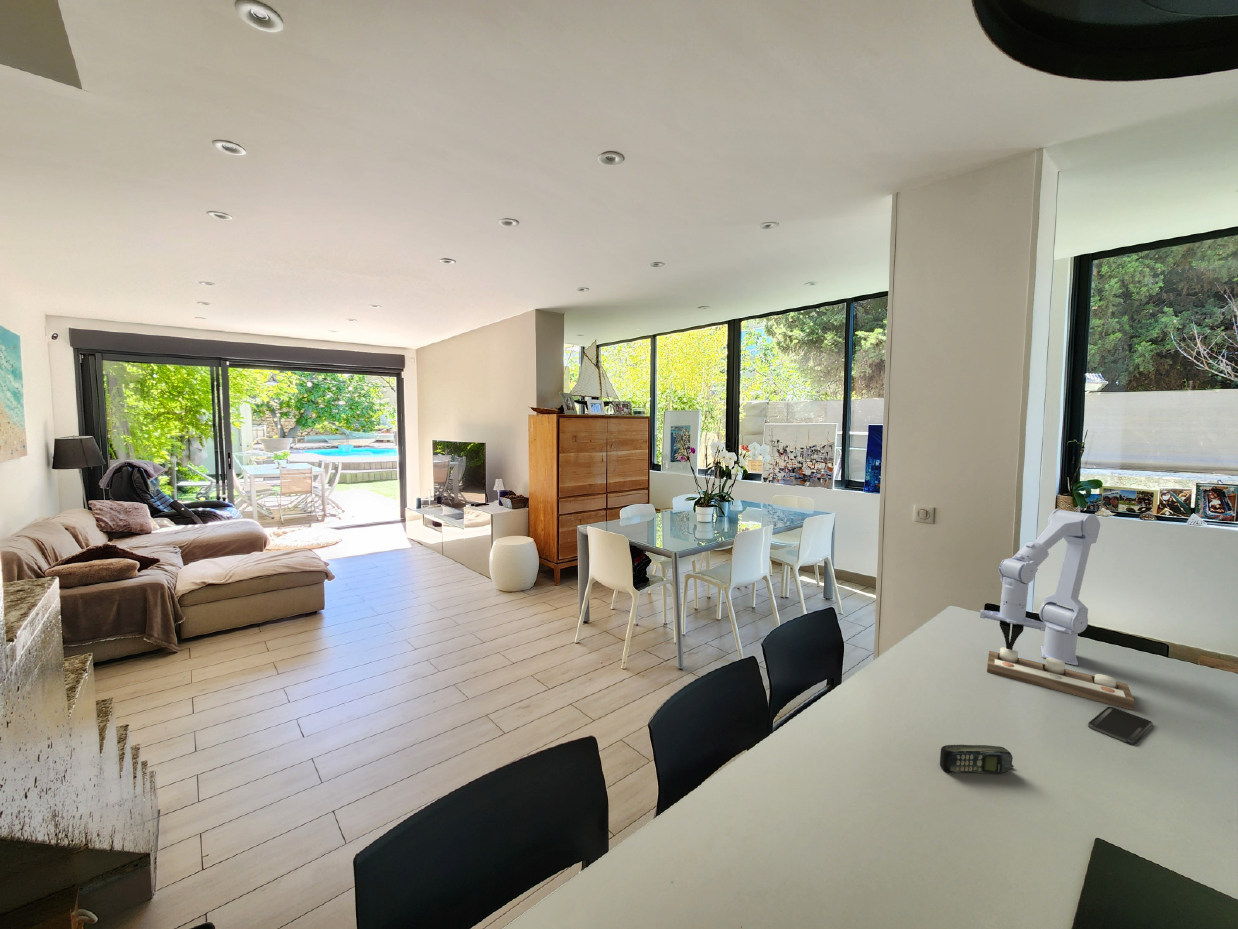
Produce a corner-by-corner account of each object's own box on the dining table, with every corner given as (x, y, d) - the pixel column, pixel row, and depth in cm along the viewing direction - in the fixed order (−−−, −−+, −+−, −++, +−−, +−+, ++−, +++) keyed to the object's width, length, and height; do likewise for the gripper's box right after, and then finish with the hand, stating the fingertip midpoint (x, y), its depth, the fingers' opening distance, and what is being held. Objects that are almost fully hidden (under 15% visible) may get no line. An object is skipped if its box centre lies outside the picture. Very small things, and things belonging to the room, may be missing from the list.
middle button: (1044, 665, 140) (1045, 656, 140) (1063, 669, 138) (1064, 660, 138) (1045, 670, 137) (1046, 661, 137) (1064, 675, 135) (1065, 666, 134)
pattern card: (994, 659, 143) (994, 658, 143) (1123, 691, 127) (1123, 690, 127) (994, 664, 140) (994, 663, 140) (1125, 697, 124) (1125, 696, 124)
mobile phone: (947, 752, 100) (1022, 751, 100) (937, 742, 103) (1010, 741, 103) (945, 776, 100) (1020, 775, 100) (936, 765, 103) (1009, 764, 103)
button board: (988, 658, 149) (989, 650, 149) (1126, 693, 131) (1127, 684, 131) (986, 672, 141) (987, 663, 141) (1133, 710, 123) (1134, 700, 123)
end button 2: (999, 654, 146) (1000, 645, 146) (1017, 658, 144) (1017, 650, 144) (999, 659, 143) (1000, 650, 143) (1017, 663, 141) (1018, 655, 141)
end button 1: (1093, 681, 134) (1094, 672, 134) (1113, 686, 132) (1114, 677, 132) (1094, 687, 131) (1095, 678, 131) (1116, 693, 129) (1117, 683, 128)
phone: (1086, 724, 116) (1109, 705, 124) (1086, 728, 116) (1108, 709, 124) (1134, 743, 110) (1154, 722, 117) (1133, 748, 110) (1154, 726, 117)
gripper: (981, 599, 143) (977, 645, 145) (1048, 612, 134) (1043, 661, 136) (982, 593, 149) (978, 637, 150) (1046, 605, 140) (1041, 652, 141)
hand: (1009, 648), depth 143 cm, fingers closed
